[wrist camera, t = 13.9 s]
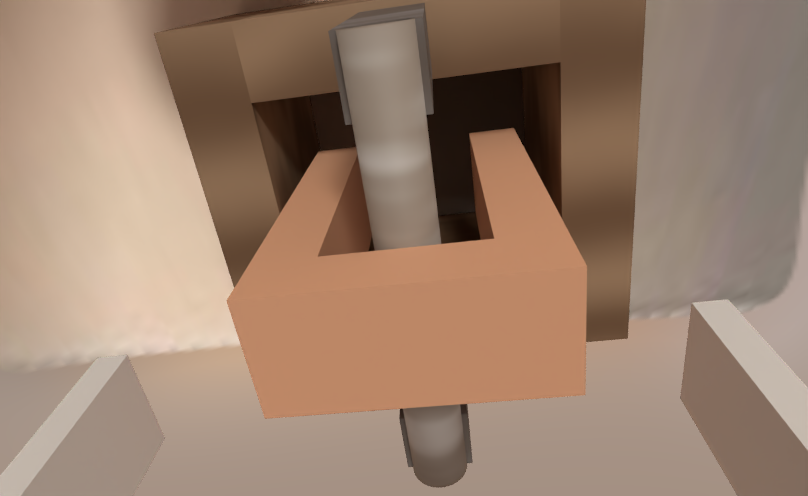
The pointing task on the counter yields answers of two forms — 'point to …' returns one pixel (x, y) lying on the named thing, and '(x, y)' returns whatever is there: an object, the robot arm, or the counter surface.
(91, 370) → the robot arm
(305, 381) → the block
